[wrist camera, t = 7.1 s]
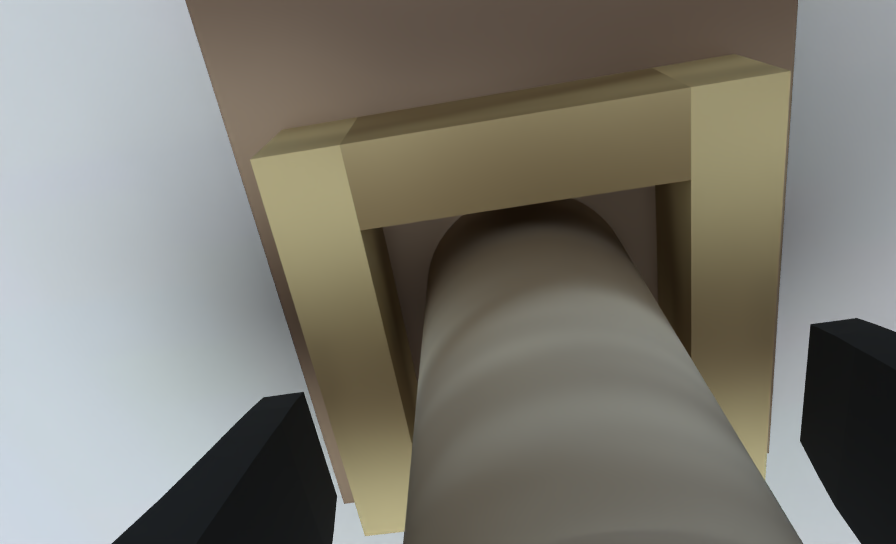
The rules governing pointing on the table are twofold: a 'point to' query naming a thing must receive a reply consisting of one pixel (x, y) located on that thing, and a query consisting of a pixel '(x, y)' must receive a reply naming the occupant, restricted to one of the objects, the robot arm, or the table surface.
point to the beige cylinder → (567, 400)
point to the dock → (503, 178)
